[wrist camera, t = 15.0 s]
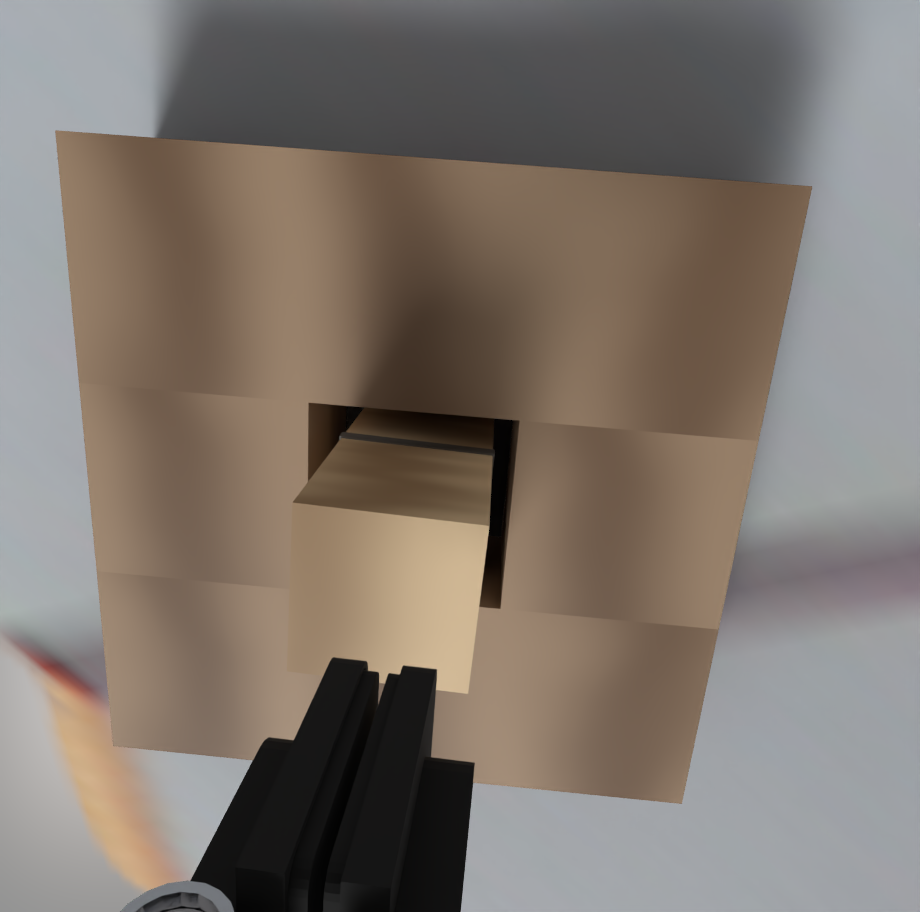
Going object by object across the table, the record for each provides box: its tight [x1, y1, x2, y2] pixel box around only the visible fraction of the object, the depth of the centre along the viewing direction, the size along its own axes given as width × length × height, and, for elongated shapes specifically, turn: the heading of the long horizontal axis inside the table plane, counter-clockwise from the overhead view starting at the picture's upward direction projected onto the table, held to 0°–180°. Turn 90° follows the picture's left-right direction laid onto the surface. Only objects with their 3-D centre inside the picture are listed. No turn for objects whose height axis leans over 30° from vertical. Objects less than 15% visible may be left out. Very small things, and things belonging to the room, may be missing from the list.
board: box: [55, 131, 812, 804], centre depth 22 cm, size 18×18×5 cm
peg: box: [287, 407, 495, 694], centre depth 20 cm, size 4×4×10 cm
